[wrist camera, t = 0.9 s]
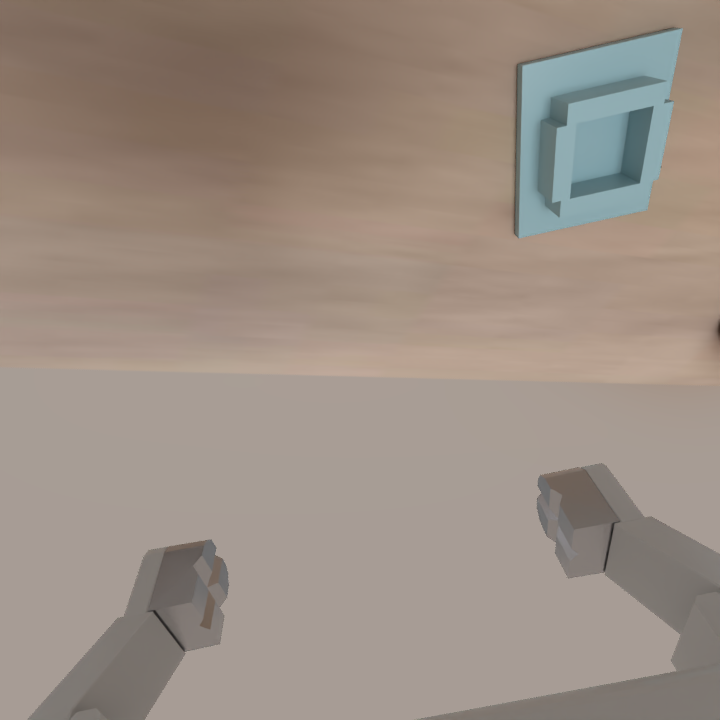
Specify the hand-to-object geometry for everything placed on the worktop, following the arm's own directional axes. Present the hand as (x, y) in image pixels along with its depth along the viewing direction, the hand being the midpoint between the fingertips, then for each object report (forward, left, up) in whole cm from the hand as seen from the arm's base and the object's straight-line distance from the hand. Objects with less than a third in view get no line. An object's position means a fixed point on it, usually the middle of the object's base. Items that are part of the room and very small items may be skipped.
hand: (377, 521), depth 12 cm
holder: (+4, +22, -34) cm, 41 cm away
